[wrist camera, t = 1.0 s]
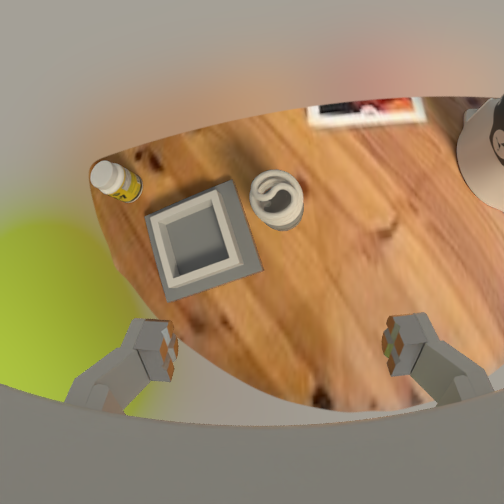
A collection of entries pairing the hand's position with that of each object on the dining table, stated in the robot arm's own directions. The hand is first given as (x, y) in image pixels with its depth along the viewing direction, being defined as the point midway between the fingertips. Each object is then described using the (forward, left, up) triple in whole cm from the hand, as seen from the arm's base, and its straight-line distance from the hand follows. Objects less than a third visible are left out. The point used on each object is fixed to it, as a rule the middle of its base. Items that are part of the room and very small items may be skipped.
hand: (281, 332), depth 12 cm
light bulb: (-1, -11, -31) cm, 33 cm away
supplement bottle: (+20, -24, -31) cm, 44 cm away
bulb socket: (+11, -12, -30) cm, 34 cm away
